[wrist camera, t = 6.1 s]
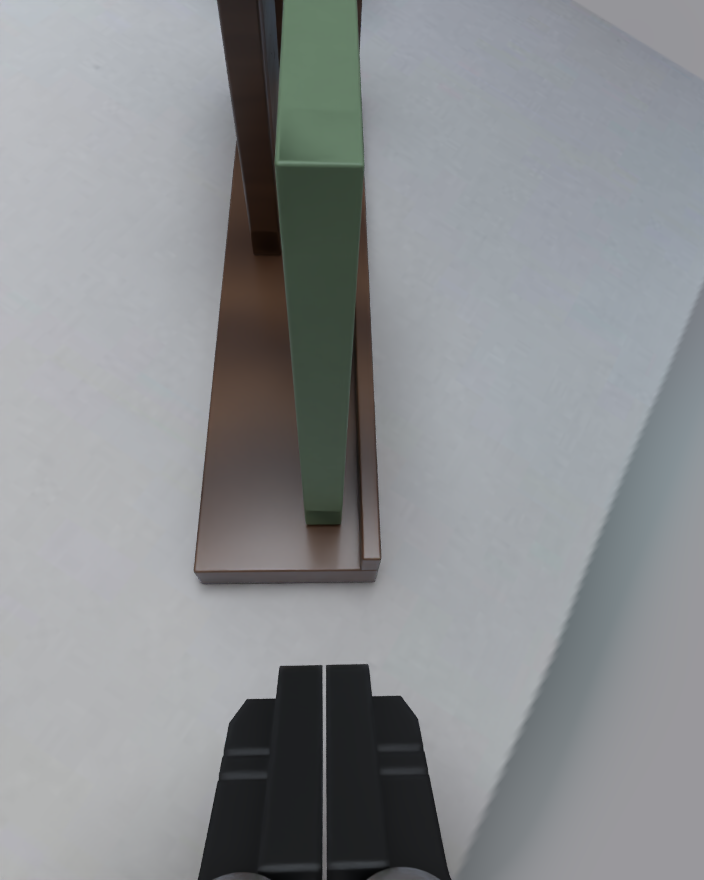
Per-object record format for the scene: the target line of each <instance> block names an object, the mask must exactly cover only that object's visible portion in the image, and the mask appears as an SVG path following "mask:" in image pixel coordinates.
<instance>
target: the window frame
mask: <svg viewBox="0 0 704 880" xmlns="http://www.w3.org/2000/svg"><path fill="white" fill-rule="evenodd" d="M217 4H218V11H219V18H220V25H221V32H222V39H223V46H224V53H225V60H226V67H227V74H228V81H229V88H230V95H231V102H232V109H233V116H234V123H235V130H236V137H237V140H236V150H235V160H234V170H233V180H232V190H231V200H230V210H229V220H228V231H227V241H226V251H225V261H224V271H223V281H222V291H221V301H220V311H219V321H218V331H217V341H216V351H215V361H214V371H213V381H212V392H211V402H210V412H209V422H208V432H207V442H206V452H205V462H204V472H203V482H202V492H201V502H200V512H199V522H198V532H197V543H196V553H195V563H194V573H195V574H196V576H197V577H198V579H199V580H200V581H201V583H203V584H224V583H311V582H374V581H375V579H376V576H377V572H378V568H379V565H380V561H381V541H380V518H379V496H378V473H377V451H376V428H375V405H374V383H373V360H372V338H371V315H370V293H369V270H368V248H367V225H366V202H365V180H363V196H362V211H361V227H360V242H359V257H358V273H357V288H356V304H355V319H354V335H353V350H352V366H351V381H350V397H349V413H348V428H347V444H346V459H345V475H344V490H343V506H342V521H341V524H317V525H307V524H306V523H305V512H304V501H303V489H302V478H301V466H300V454H299V443H298V431H297V420H296V408H295V396H294V385H293V373H292V362H291V350H290V338H289V327H288V315H287V304H286V292H285V280H284V269H283V257H282V246H281V235H280V223H279V212H278V200H277V189H276V177H275V165H274V163H275V144H276V126H277V108H278V89H279V71H280V53H281V35H282V16H283V0H217ZM361 11H362V0H357V12H358V34H359V54H360V32H361Z"/></svg>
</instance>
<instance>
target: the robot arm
mask: <svg viewBox="0 0 704 880" xmlns="http://www.w3.org/2000/svg"><path fill="white" fill-rule="evenodd" d="M326 797H327V880H451V878H450V875H449V871H448V868H447V863H446V858H445V853H444V848H443V843H442V838H441V833H440V828H439V823H438V818H437V813H436V808H435V803H434V798H433V793H432V788H431V782H430V777H429V775H428V767H427V762H426V757H425V752H424V751H423V742H422V737H421V732H420V727H419V722H418V718H417V717H416V715H415V714H414V713H413V711H412V710H411V709H410V708H409V706H408V705H407V704H406V702H405V701H404V700H403V698H402V697H401V696H372V691H371V682H370V673H369V665H368V664H351V665H326ZM322 836H323V697H322V665H307V666H280V668H279V676H278V685H277V694H276V699H247V700H246V701H245V703H244V704H243V705H242V707H241V708H240V709H239V711H238V712H237V713H236V715H235V716H234V717H233V719H232V720H231V722H230V723H229V727H228V732H227V737H226V742H225V747H224V756H223V757H222V762H221V767H220V772H219V781H218V783H217V788H216V793H215V798H214V803H213V808H212V813H211V818H210V823H209V828H208V833H207V838H206V843H205V848H204V853H203V858H202V863H201V868H200V873H199V877H198V880H322Z"/></svg>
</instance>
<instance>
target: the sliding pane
mask: <svg viewBox="0 0 704 880" xmlns="http://www.w3.org/2000/svg"><path fill="white" fill-rule="evenodd" d="M274 165H275V177H276V189H277V200H278V212H279V223H280V235H281V246H282V257H283V269H284V280H285V292H286V304H287V315H288V327H289V338H290V350H291V362H292V373H293V385H294V396H295V408H296V420H297V431H298V443H299V454H300V466H301V478H302V489H303V501H304V512H305V523H306V524H307V525H317V524H341V521H342V506H343V490H344V475H345V459H346V444H347V428H348V413H349V397H350V381H351V366H352V350H353V335H354V319H355V304H356V288H357V273H358V257H359V242H360V227H361V211H362V196H363V180H364V145H363V123H362V101H361V78H360V56H359V34H358V12H357V0H283V16H282V35H281V53H280V71H279V89H278V108H277V126H276V144H275V163H274Z"/></svg>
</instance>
